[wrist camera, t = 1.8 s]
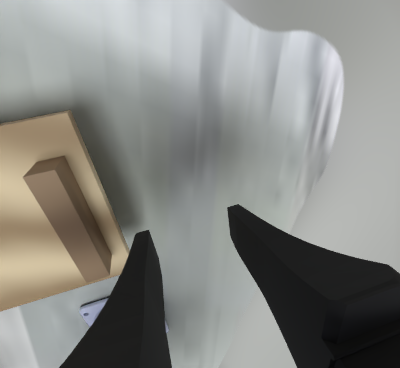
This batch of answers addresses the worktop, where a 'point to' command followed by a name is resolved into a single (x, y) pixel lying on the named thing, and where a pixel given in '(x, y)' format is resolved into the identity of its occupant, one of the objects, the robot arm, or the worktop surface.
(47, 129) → the lid
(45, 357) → the worktop surface
